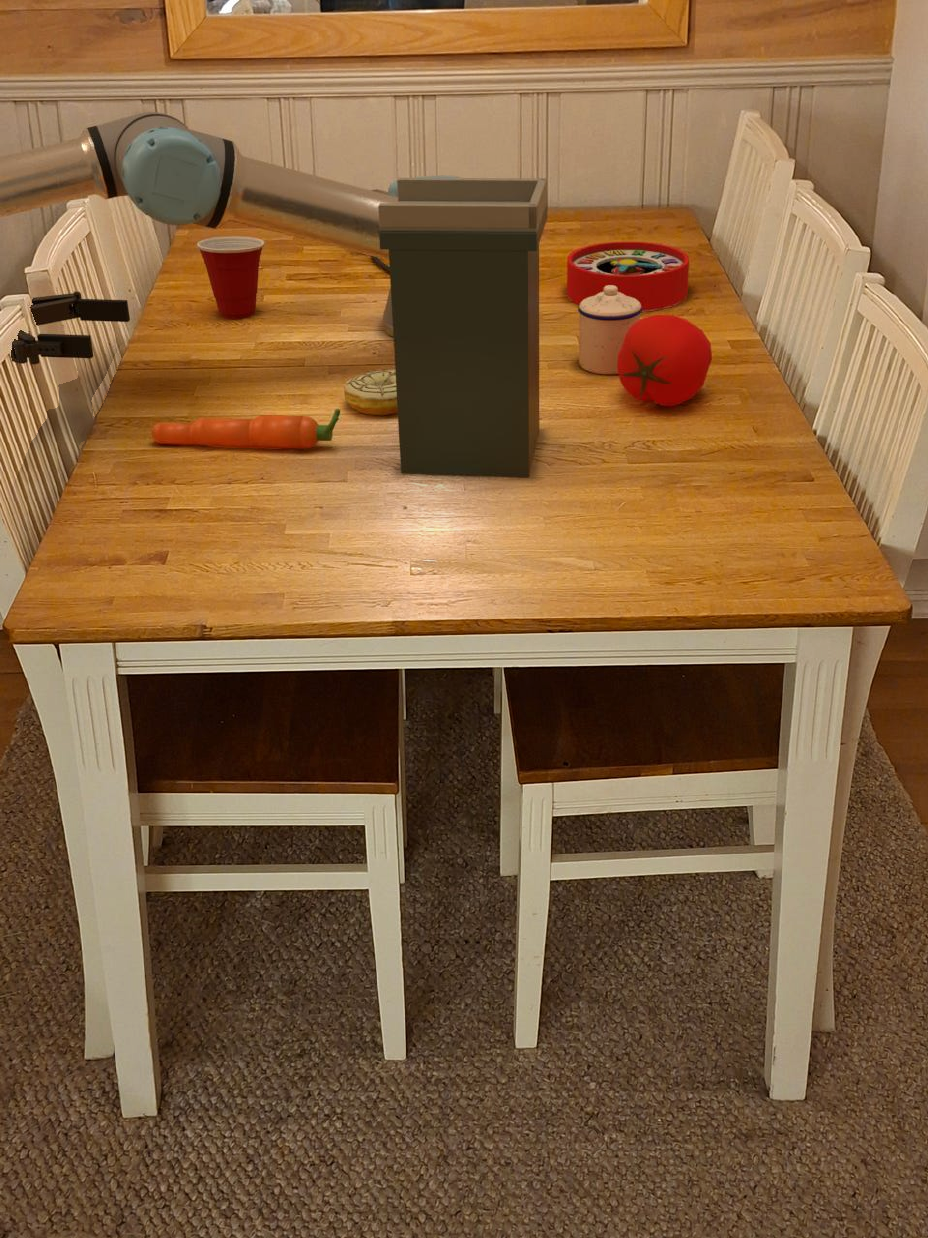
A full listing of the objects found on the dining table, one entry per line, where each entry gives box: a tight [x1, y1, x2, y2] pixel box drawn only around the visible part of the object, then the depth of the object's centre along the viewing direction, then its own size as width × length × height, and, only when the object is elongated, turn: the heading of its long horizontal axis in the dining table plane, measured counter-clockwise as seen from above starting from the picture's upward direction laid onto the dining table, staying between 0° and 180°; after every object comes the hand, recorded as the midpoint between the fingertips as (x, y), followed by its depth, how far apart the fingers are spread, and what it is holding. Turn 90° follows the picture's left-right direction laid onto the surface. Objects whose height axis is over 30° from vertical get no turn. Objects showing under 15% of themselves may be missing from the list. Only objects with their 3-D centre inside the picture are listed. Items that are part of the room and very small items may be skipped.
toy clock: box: [566, 241, 690, 313], centre depth 233 cm, size 20×6×20 cm
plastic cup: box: [196, 235, 265, 320], centre depth 228 cm, size 11×11×12 cm
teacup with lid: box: [577, 285, 642, 375], centre depth 204 cm, size 12×9×12 cm
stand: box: [378, 177, 548, 478], centre depth 171 cm, size 18×14×33 cm
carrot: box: [151, 408, 341, 450], centre depth 183 cm, size 25×4×5 cm, turn 82°
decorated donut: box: [344, 369, 398, 417], centre depth 194 cm, size 10×11×4 cm
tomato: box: [617, 314, 713, 408], centre depth 191 cm, size 13×13×13 cm
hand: (110, 328), depth 178 cm, fingers open, 13 cm apart
